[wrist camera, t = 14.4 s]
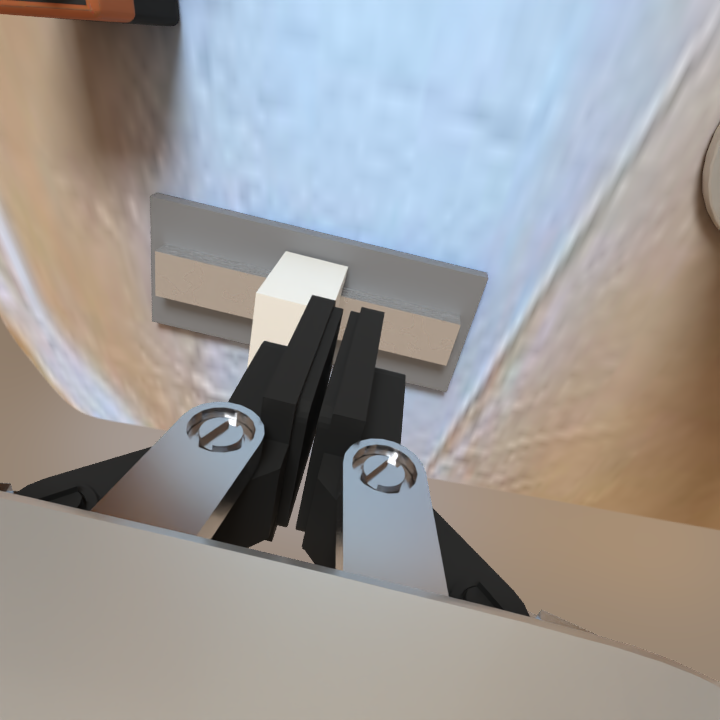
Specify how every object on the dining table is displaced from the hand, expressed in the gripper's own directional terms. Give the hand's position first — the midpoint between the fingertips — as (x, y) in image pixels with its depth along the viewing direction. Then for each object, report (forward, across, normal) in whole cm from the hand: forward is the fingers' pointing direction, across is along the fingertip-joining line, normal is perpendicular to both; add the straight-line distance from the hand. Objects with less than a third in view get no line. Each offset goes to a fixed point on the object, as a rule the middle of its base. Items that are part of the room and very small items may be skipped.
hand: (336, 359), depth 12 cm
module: (+24, +4, +11) cm, 27 cm away
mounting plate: (+25, +4, +11) cm, 28 cm away
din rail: (+25, +4, +11) cm, 28 cm away
